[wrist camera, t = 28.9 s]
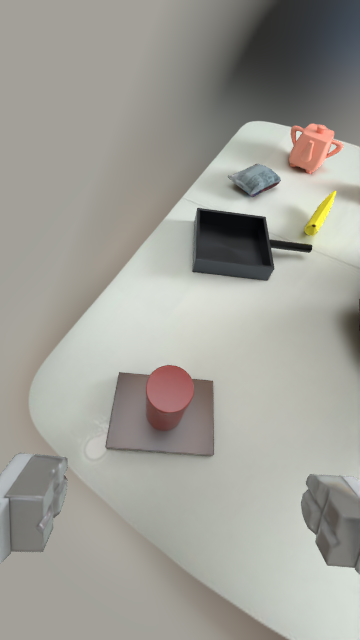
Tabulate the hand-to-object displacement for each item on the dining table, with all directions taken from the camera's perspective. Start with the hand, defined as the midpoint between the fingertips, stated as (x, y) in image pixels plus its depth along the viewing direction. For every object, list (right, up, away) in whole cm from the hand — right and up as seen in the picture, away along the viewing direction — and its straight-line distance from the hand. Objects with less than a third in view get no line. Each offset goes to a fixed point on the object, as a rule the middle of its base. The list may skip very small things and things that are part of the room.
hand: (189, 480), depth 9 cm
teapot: (+36, +51, +70) cm, 94 cm away
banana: (+32, +28, +56) cm, 70 cm away
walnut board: (-3, -8, +29) cm, 31 cm away
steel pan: (+15, +20, +49) cm, 55 cm away
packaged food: (+18, +40, +62) cm, 76 cm away
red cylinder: (-2, -7, +28) cm, 29 cm away
